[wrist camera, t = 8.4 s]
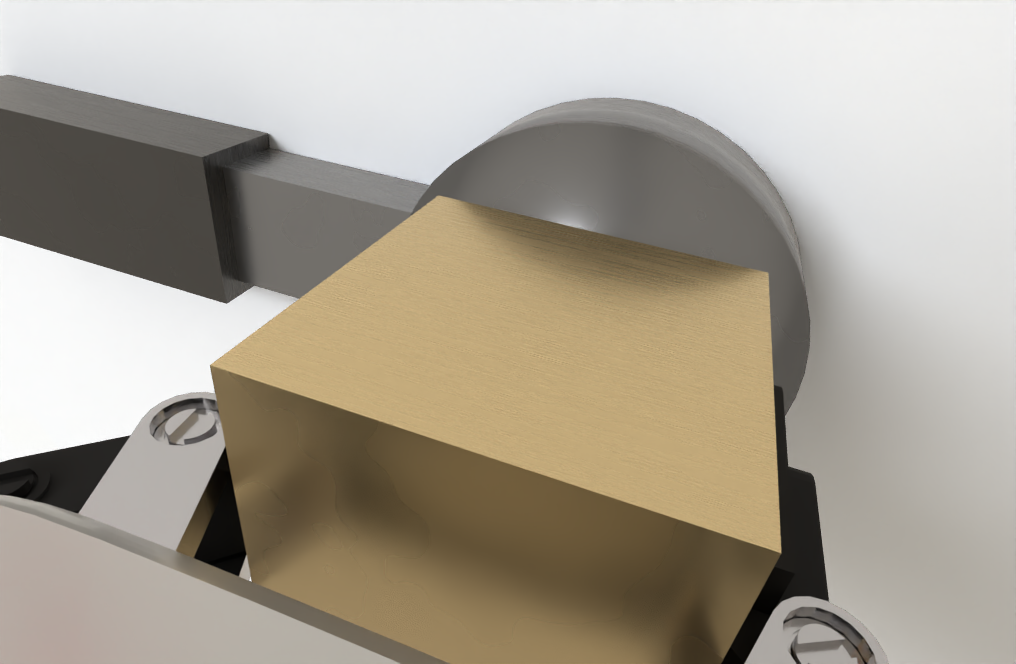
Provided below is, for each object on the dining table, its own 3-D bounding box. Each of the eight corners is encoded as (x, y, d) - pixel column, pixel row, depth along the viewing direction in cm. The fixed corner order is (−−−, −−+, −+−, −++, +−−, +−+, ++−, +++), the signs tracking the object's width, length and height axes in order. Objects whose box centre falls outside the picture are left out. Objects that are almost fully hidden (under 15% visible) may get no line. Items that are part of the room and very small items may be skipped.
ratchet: (-22, -22, 17) (-373, -13, 12) (872, 143, 12) (965, 288, 7) (70, 269, 22) (-148, 367, 17) (731, 471, 17) (720, 704, 12)
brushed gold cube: (438, 195, 12) (210, 365, 7) (768, 272, 10) (781, 553, 5) (426, 432, 15) (267, 663, 10) (676, 514, 14) (632, 824, 9)
